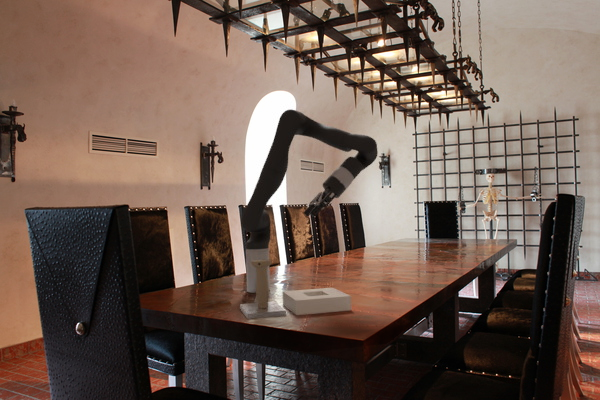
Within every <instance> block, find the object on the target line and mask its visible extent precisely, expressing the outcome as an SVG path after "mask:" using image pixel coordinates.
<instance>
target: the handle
mask: <svg viewBox="0 0 600 400" xmlns="http://www.w3.org/2000/svg"><path fill="white" fill-rule="evenodd" d="M251 264H252V266H254V267H256V271H257V275H256V295H255V297H256V296H257V302H258V304H257V305H258V308H261V309H263V308H267V307H268V302H269V297H270V296H269V295H270V291H269V288H268V278H267V267H268V266H269V267H270V266H271V265H272V259H269V260H253V261H251Z"/></svg>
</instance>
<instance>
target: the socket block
mask: <svg viewBox="0 0 600 400" xmlns="http://www.w3.org/2000/svg"><path fill="white" fill-rule="evenodd" d="M282 305H283V306H284V307H285V308H287V309H288V310H289V311H291V312H292V313H293V314H294V315H295V316H301V315H302V316H304V315H312V314H313V315H315V314H326V313H334V312H336V313H337V312H347V311H348V312H349V311H352V296H351V295H350V294H347V293H345V292H342V291H341V290H338V289H336V288H334V287H325V288H310V289H299V290H285V291H284V290H283V291H282Z"/></svg>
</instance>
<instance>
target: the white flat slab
mask: <svg viewBox="0 0 600 400" xmlns="http://www.w3.org/2000/svg"><path fill="white" fill-rule="evenodd" d="M257 304H258V303H256V302H252V303H240V304H239V309H241V310H240V312H242V314H243V315H244V317H245V318H246V320H250V319H261V318H273V317H282V316H287V311H286V309H285V308H284V307H283V306H282V305H280V304H279V303H278V302H276V301H275V300H274V301H268V307H267V308H263V309H261V308H258V305H257Z"/></svg>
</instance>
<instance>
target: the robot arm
mask: <svg viewBox="0 0 600 400" xmlns="http://www.w3.org/2000/svg"><path fill="white" fill-rule="evenodd" d="M297 135H298V136H304V137H308V138H312V139H315V140H317V141H320V142H321V143H324V144H325V145H328V146H329V147H332V148H334V149H337V150H340V151H343V152H344V153H345V152H347V153H348V152H351V151H355V152H357V153H356V154H355V155H354V156H348V157H347V158H346V159H344V161H343V162H342V163H341V164H340V165H339V166H338V167H337V168H336V169H335V170H334V171H332V173H331V174H330V175H329V176H328V178H327V179H326V180H325V181H324V182H323V183H322V188H323V189H324V191H320V192H318V194H317V195H316V196H315V197H314V198H313V199H312V200H311V201H310V202H309V206H308V207H306V209H305V210H304V211H303V215H304V216H306V217H309V216H310V215H311V216H312V217H314V218H315V217H317V215H319V213H320V212H321V211H322V210H324V209H325V208H327V207H328V206H329V205H330V203H331V202H332V201H333V200H334V199H335V198H336V199H339V198H340V197H341V195H342V194H344V192H346V190H347V189H348V188H349V186H350V185H351V184H352V183H353V181H354V180H355V179H356V178H357V176H359V174H360V173H361V172H362V171H364V170H365V169H367V168H368V167H369V166H371V165H372V164H373V163H374V162H375V160H376V159H377V157H378V153H379V152H378V143H377V141H376V140H375V139H374V138H373V137H371V136H369V135H365V134H357V133H350V132H347V131H345V130H342V129H340V128H337V127H334V126H329V125H326V124H323V123H321V122H318V121H316V120H314V119H312V118H310V117H309V116H308V115H305V114H304V113H303V112H301V111H299V110H295V109H292V108H291V109H287V110H285V111H283V113H282V114H281V116H280V117H279V120H278V123H277V127H276V131H275V134H274V137H273V141H272V144H271V146H270V149H269V151H268V154H267V156H266V159H265V161H264V164H263V166H262V169H261V171H260V175H259V177H258V179H257V182H256V184H255V187H254V188H253V189H254V190H253V192H252V195H251V197H250V199H249V201H248V203H247V205H246V206H245V209H244V210H243V213H242V215H241V220H240V221H241V227H242V229H243V230H244V231H245V232H249V233H250V236H249V239H248V240H246V242H245V264H246V265H245V266H246V267H245V268H246V291H247V293H251V294H253V293H254V294H255V293H256V274H255V273H254V271H253V268H252V265H251V254H250V252H249V251H256V250H269V251H270V249H269V248H270V247H269V245H270V241H271V217H270V214H269V213H268V211H267V210H266V209H265V208H266V206H267V204H268V202H269V201H270V200H271V198H272V197H273V196H274V194H275V193H276V192H277V191H278V189H279V188H280V187H281V185H282V183H283V181H284V180H285V175H286V173H287V171H288V166H289V151H290V147H291V144H292V142H293V139H294V138H295V136H297ZM269 253H270V252H269ZM269 253H268V260H270V254H269ZM267 278H268V288H269V292H270V289H271V288H270V287H271V285H270V281H271V280H270V279H271V278H270V266H268V268H267Z"/></svg>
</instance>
